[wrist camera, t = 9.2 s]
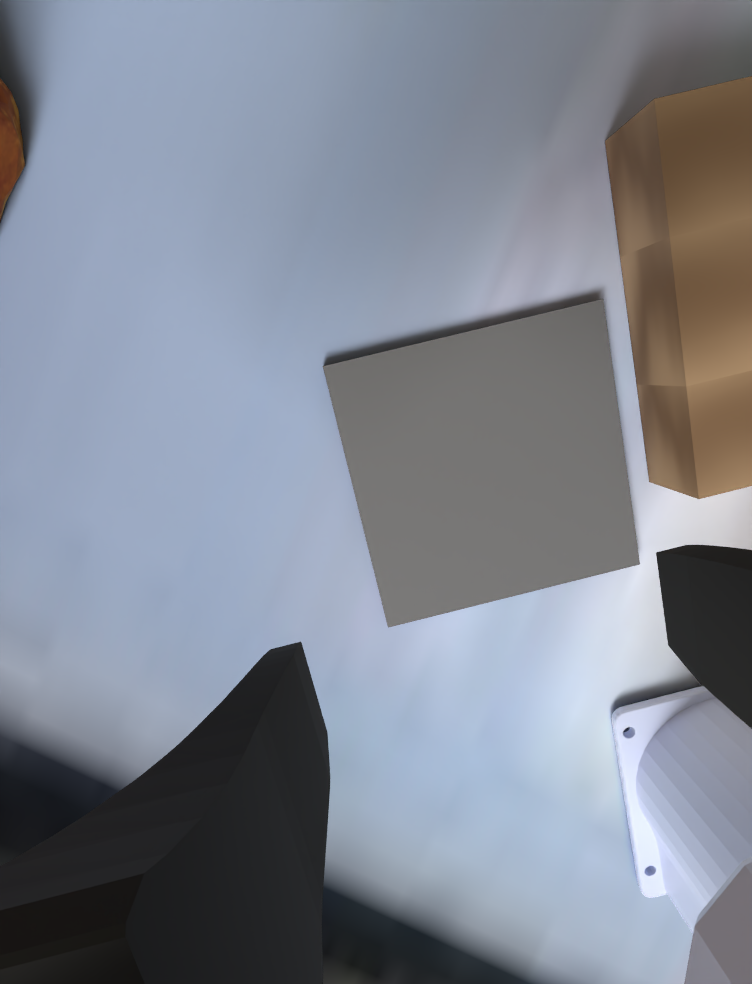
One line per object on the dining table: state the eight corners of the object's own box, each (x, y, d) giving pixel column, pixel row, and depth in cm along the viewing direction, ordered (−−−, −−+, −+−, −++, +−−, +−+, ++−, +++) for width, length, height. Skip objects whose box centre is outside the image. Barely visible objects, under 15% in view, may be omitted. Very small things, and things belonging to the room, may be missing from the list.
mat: (634, 561, 22) (639, 564, 22) (387, 622, 22) (388, 627, 22) (597, 300, 20) (603, 299, 20) (323, 366, 20) (323, 366, 19)
